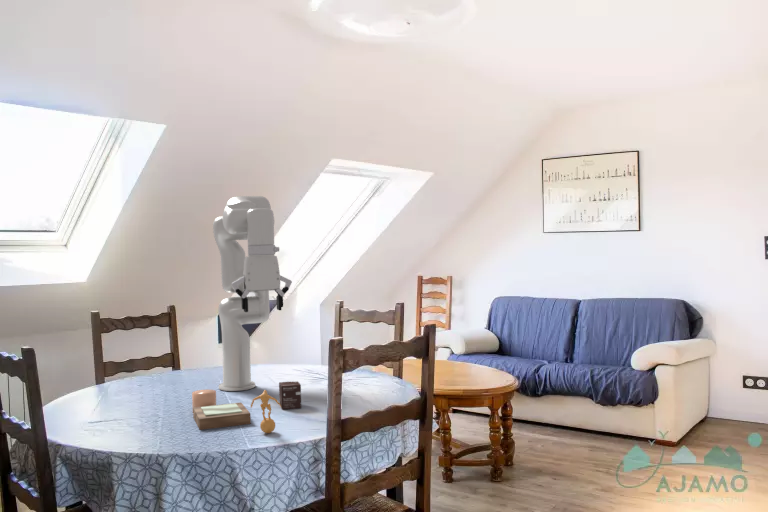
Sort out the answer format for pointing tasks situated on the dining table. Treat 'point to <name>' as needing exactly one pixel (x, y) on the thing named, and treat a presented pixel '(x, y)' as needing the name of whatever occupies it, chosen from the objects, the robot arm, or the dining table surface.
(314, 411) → the dining table surface
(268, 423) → the figurine
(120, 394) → the dining table surface
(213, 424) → the stand
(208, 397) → the peach rounded block
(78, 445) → the dining table surface
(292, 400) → the box
